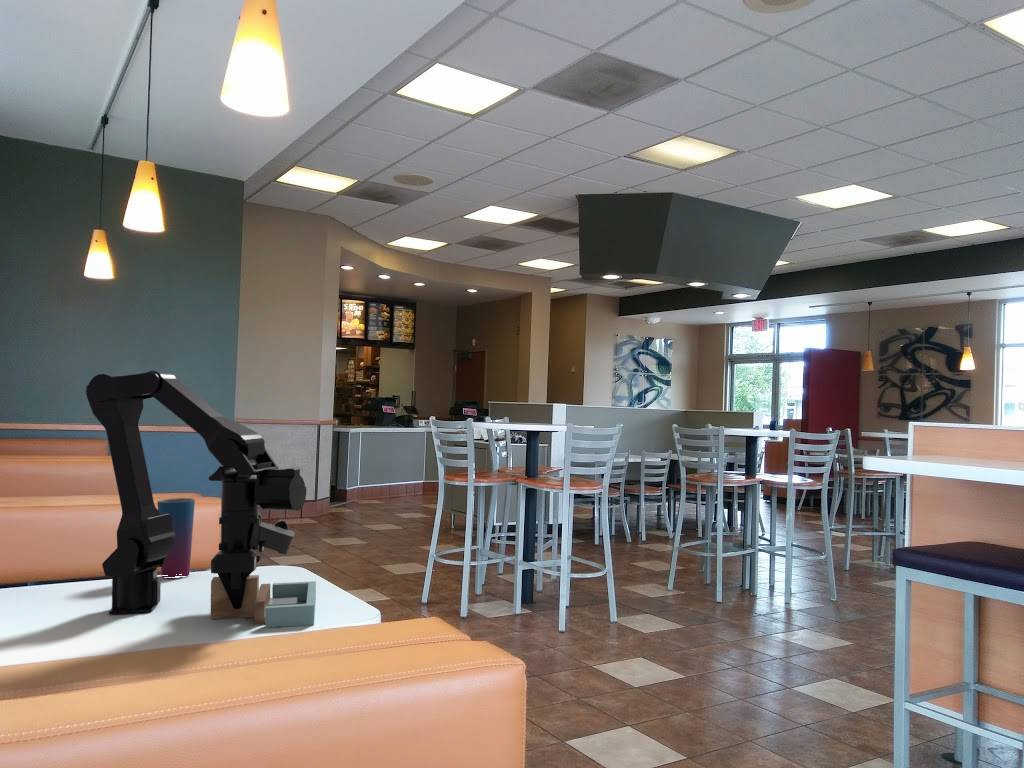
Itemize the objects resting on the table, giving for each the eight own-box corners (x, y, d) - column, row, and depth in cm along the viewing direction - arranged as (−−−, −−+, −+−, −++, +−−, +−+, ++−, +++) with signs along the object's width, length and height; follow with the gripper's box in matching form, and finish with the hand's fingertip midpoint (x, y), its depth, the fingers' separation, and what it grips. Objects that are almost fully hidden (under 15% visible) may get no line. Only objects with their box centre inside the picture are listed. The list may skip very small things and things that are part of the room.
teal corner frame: (265, 627, 117) (265, 608, 117) (272, 600, 133) (273, 583, 133) (313, 624, 119) (314, 605, 119) (315, 598, 135) (315, 581, 135)
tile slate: (267, 614, 126) (267, 604, 126) (270, 607, 131) (270, 598, 131) (296, 612, 127) (296, 603, 127) (297, 605, 132) (297, 596, 132)
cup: (168, 582, 147) (168, 503, 147) (149, 577, 151) (150, 500, 151) (201, 575, 152) (201, 499, 153) (182, 570, 156) (183, 497, 157)
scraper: (205, 627, 117) (206, 587, 117) (217, 606, 129) (217, 570, 129) (264, 624, 119) (264, 585, 119) (270, 604, 131) (270, 568, 131)
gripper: (288, 515, 117) (287, 618, 117) (294, 500, 135) (293, 589, 135) (211, 518, 115) (209, 623, 114) (227, 502, 133) (226, 592, 133)
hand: (238, 605), depth 124 cm, fingers closed on scraper, 3 cm apart
